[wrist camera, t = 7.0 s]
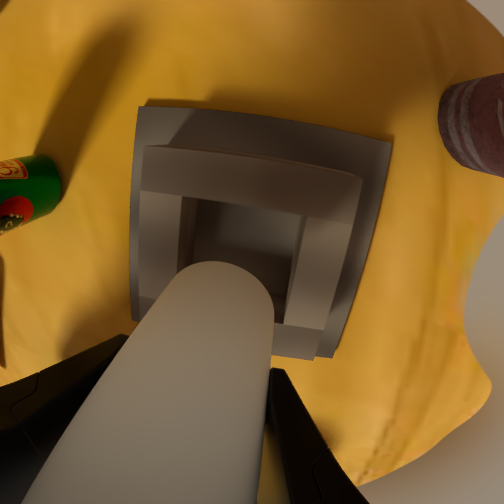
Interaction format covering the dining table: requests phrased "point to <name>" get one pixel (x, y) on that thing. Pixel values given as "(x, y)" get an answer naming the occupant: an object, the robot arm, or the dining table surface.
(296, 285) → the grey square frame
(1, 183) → the soda can
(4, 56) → the dining table surface
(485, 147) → the can
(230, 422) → the cream peg
